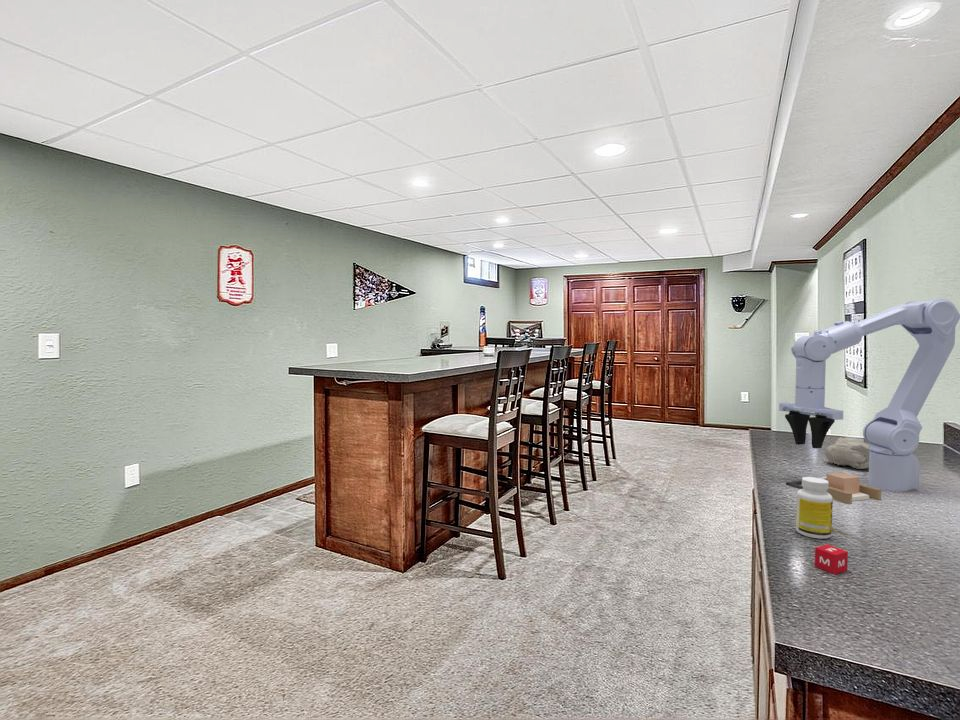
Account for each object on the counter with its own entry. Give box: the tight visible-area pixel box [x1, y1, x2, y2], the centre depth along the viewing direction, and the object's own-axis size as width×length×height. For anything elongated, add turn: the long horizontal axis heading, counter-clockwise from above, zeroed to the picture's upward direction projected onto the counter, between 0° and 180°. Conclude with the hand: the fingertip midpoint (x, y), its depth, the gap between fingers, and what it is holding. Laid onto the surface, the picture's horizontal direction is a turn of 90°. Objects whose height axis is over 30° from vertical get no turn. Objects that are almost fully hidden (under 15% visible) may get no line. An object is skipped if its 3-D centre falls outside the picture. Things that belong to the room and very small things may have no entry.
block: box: [826, 471, 861, 494], centre depth 110 cm, size 4×4×4 cm
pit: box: [785, 480, 803, 490], centre depth 117 cm, size 10×5×1 cm, turn 108°
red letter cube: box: [814, 544, 849, 575], centre depth 77 cm, size 3×3×3 cm
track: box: [827, 483, 882, 505], centre depth 106 cm, size 10×16×3 cm, turn 18°
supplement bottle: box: [795, 476, 834, 540], centre depth 90 cm, size 5×5×10 cm
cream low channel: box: [818, 476, 870, 502], centre depth 110 cm, size 6×7×3 cm
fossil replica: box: [824, 437, 870, 470], centre depth 137 cm, size 12×8×10 cm
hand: (808, 446), depth 117 cm, fingers open, 4 cm apart
